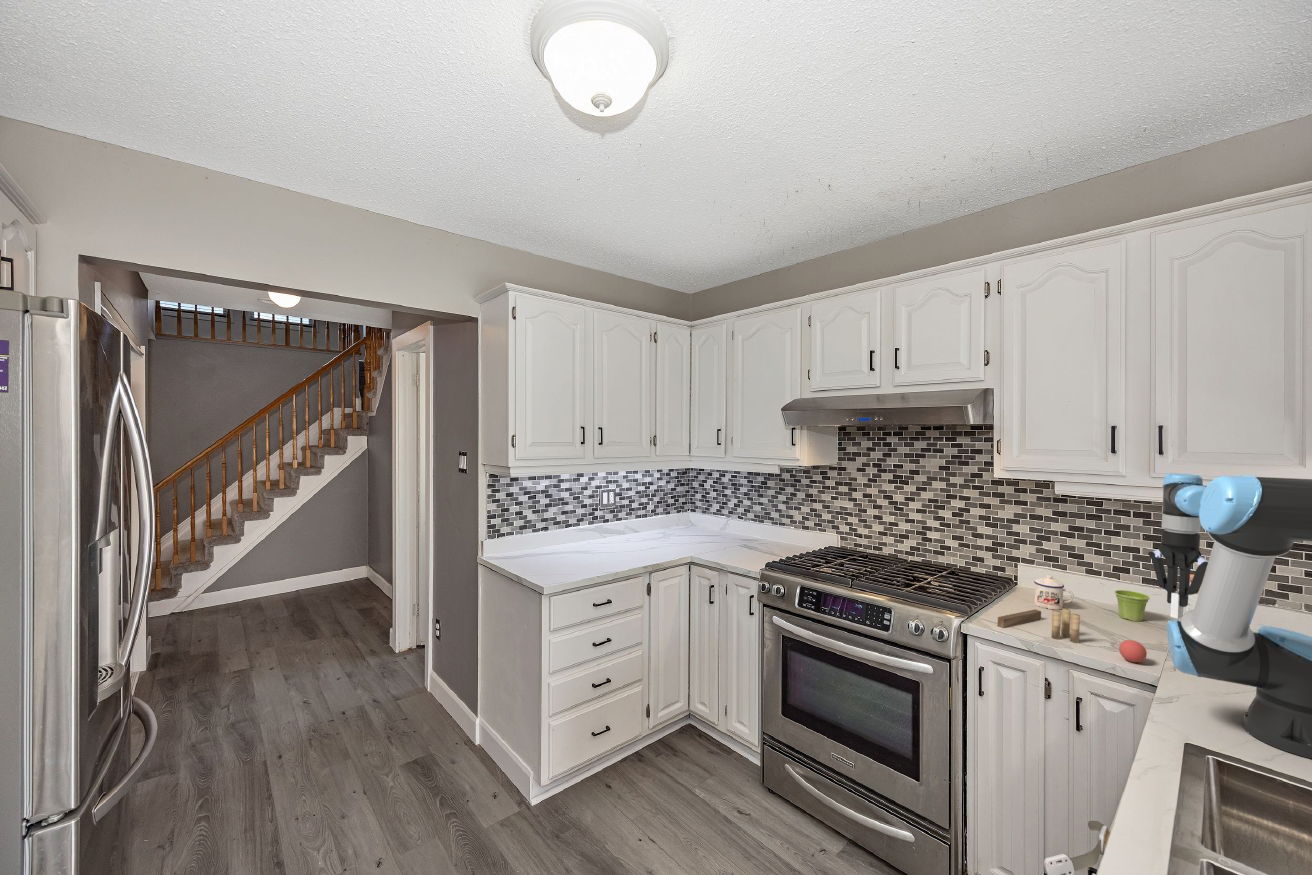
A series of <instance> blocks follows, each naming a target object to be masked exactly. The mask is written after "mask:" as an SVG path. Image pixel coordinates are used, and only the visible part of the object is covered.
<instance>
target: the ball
mask: <svg viewBox="0 0 1312 875" xmlns="http://www.w3.org/2000/svg"><path fill="white" fill-rule="evenodd" d="M1118 646H1119V647H1118V651H1119V654H1120V655H1121V657H1122V658H1124V659H1125V660H1126V661H1128V662H1132V663H1140V662H1143V661H1144V660H1145V659H1146V658H1147V654H1148V653H1147V650H1146V648H1145V646H1144V645H1143V644H1141V643H1140V642H1138V641H1137V640H1132V639H1128V640H1124V641H1122V642H1120V644H1119V645H1118Z"/></svg>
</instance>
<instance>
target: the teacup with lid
mask: <svg viewBox="0 0 1312 875" xmlns="http://www.w3.org/2000/svg"><path fill="white" fill-rule="evenodd" d="M1033 583H1034V595H1033V596H1034V597H1033V598H1034V599H1033V600H1034V601H1033V603H1034V605H1035V606H1037V607H1039V606H1040V607H1039V608H1042V607H1044V608H1043V609H1046V608H1048V609H1047V610H1052V609H1054V610H1053V611H1059V609H1060V610H1062V609H1063V604H1067V603H1071V602H1072V601H1073V600H1074V592H1073V591H1071V590H1070V589H1066V588H1065V585H1064V583H1063V582H1061V581H1059V580H1057V579H1055V578H1054V577H1053V575H1050V574H1046V575H1045V577H1041V578H1036V579H1034V580H1033ZM1064 592H1067V593H1069V594H1070V595H1071V596H1070V598H1069V599H1067V600H1064Z"/></svg>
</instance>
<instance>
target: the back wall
mask: <svg viewBox="0 0 1312 875" xmlns="http://www.w3.org/2000/svg"><path fill="white" fill-rule="evenodd" d="M1040 619H1041V620H1042V610H1038V609H1031V610H1026V611H1021V612H1016V613H1011V614H1005V615H1001V616H997V624H996V625H997V627H999V628H1003V629H1005V628H1009V627H1014V625H1015V626H1018V624H1019V625H1022V624H1027V623H1031V622H1037V621H1041V620H1040Z"/></svg>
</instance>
